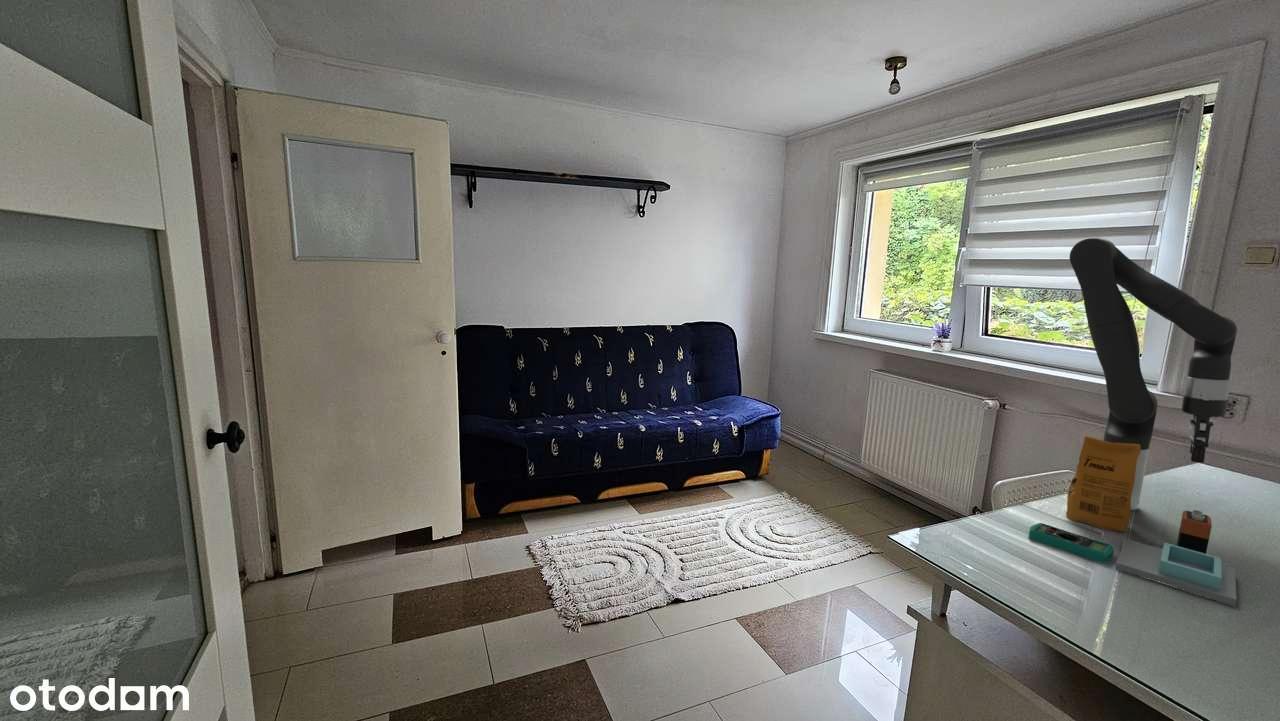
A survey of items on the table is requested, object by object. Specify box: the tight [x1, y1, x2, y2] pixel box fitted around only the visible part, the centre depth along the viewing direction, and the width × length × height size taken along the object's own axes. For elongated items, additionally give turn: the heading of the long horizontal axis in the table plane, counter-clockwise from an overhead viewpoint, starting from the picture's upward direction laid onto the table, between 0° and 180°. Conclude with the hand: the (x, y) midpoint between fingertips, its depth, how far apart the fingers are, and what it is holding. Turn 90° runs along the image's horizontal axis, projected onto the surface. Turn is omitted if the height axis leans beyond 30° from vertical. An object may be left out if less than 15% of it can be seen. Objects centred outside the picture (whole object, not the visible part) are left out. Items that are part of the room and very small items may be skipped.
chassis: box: [1115, 538, 1238, 608], centre depth 110 cm, size 17×16×4 cm
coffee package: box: [1065, 435, 1141, 533], centre depth 132 cm, size 10×12×22 cm
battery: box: [1176, 509, 1213, 554], centre depth 117 cm, size 4×7×10 cm, turn 134°
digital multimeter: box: [1028, 522, 1115, 565], centre depth 120 cm, size 7×15×3 cm, turn 38°
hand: (1196, 458), depth 132 cm, fingers open, 8 cm apart
